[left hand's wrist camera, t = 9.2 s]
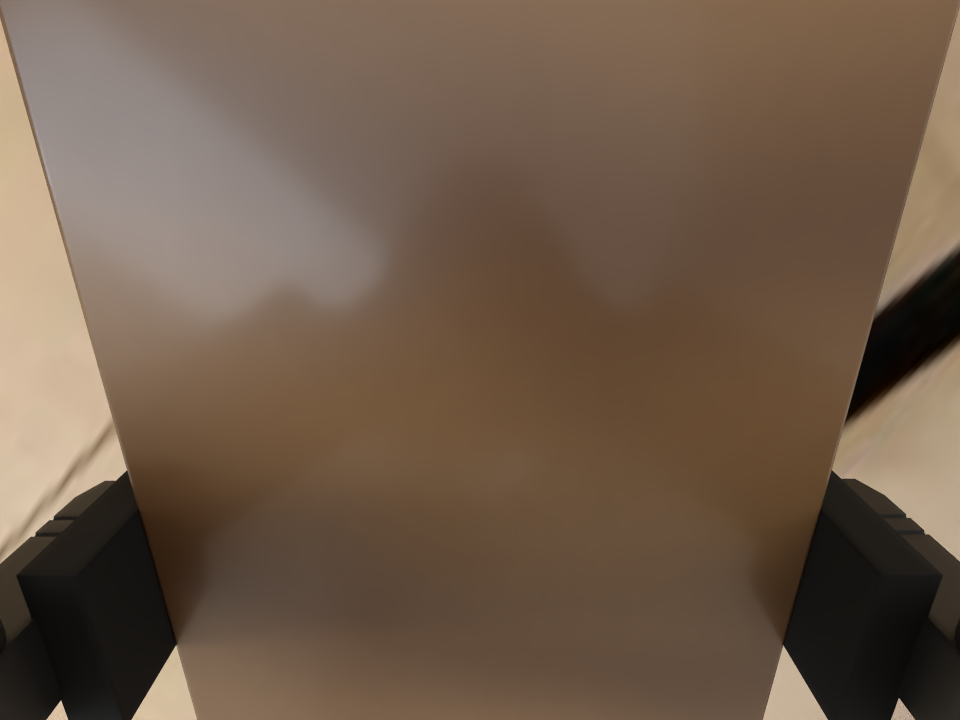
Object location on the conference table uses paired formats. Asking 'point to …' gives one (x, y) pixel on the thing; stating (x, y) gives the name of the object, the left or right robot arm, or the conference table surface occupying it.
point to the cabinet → (479, 328)
